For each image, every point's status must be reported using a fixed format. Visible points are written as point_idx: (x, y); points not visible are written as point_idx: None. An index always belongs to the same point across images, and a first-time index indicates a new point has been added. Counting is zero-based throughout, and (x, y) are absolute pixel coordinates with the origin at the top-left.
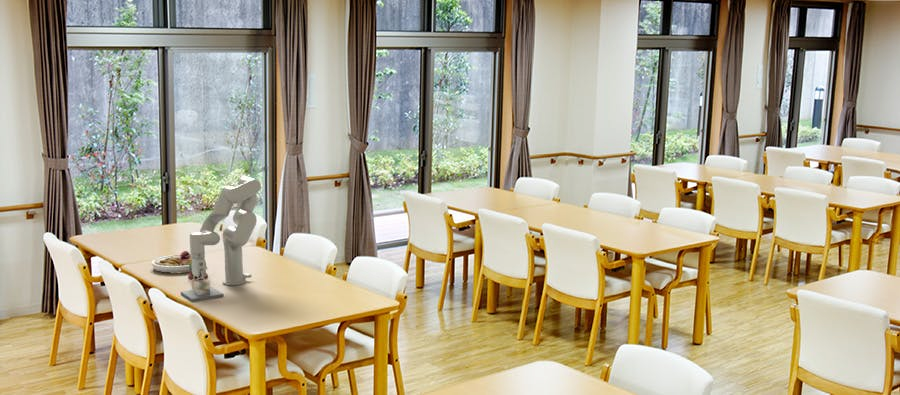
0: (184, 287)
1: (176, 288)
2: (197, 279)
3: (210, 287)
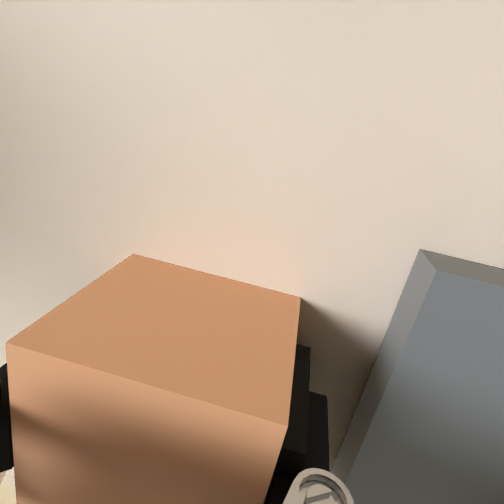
0: None
1: None
2: (93, 484)
3: (463, 321)
